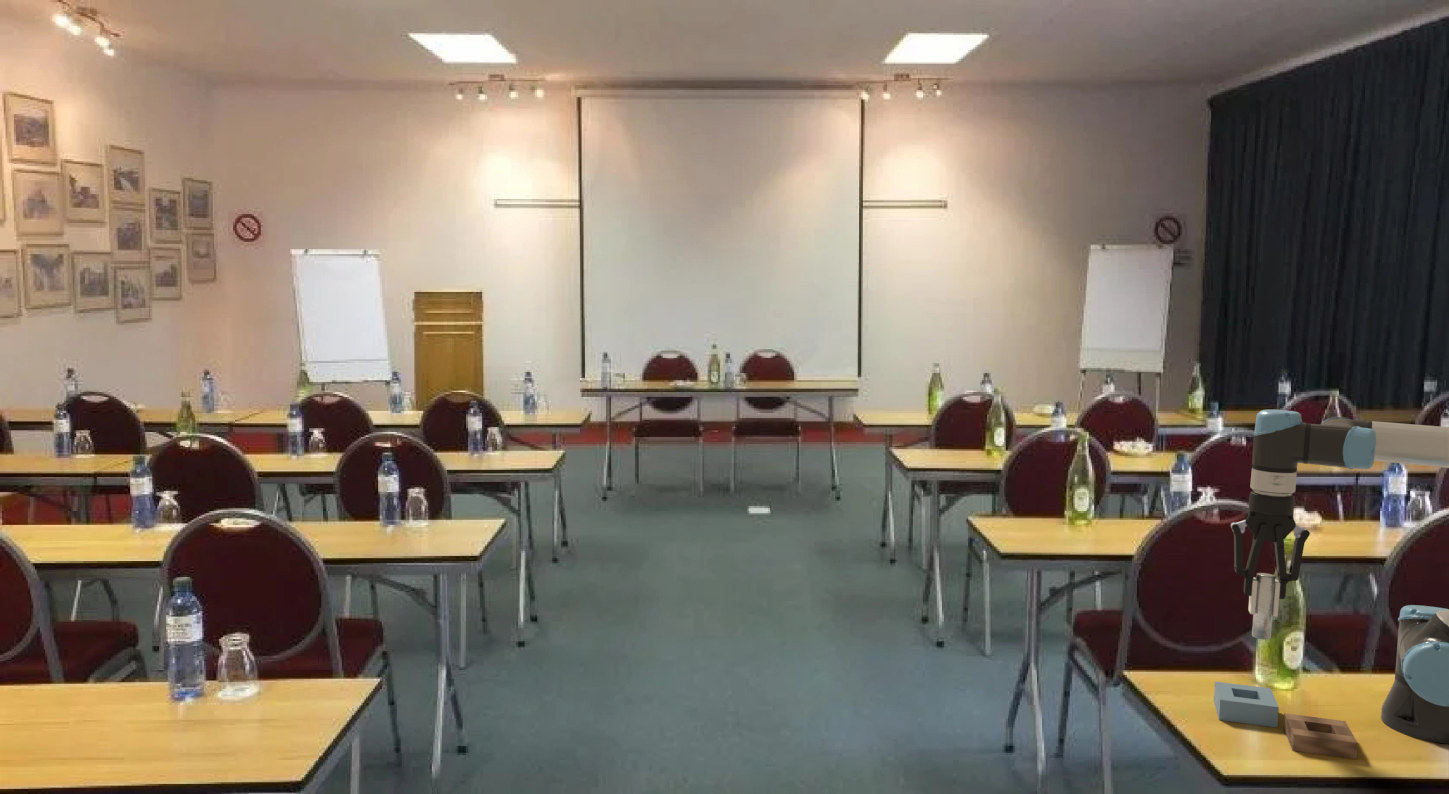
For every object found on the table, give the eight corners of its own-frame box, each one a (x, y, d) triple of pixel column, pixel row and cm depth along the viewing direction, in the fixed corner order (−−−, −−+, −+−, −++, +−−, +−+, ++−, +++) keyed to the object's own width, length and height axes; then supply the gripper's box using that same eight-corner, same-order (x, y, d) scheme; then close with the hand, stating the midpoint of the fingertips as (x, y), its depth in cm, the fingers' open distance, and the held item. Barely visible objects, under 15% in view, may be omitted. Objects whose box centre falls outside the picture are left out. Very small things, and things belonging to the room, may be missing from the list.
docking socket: (1269, 708, 204) (1270, 688, 204) (1277, 727, 195) (1278, 707, 194) (1213, 700, 208) (1214, 681, 207) (1219, 719, 198) (1220, 699, 198)
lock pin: (1269, 635, 198) (1273, 574, 197) (1272, 640, 195) (1277, 578, 194) (1250, 633, 199) (1255, 572, 198) (1253, 638, 196) (1258, 576, 195)
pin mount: (1344, 736, 191) (1345, 721, 191) (1356, 759, 182) (1357, 743, 181) (1283, 728, 194) (1284, 713, 194) (1292, 750, 185) (1293, 734, 185)
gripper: (1227, 492, 193) (1218, 614, 196) (1325, 499, 188) (1315, 624, 190) (1222, 485, 200) (1213, 603, 203) (1316, 492, 195) (1306, 613, 198)
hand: (1262, 613), depth 197 cm, fingers closed on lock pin, 3 cm apart
